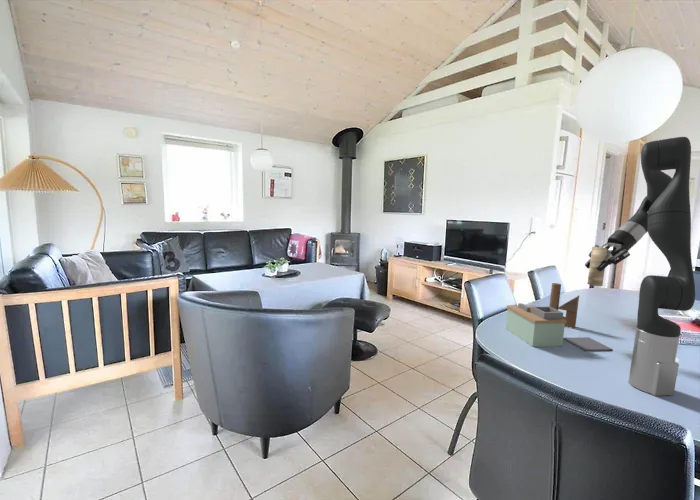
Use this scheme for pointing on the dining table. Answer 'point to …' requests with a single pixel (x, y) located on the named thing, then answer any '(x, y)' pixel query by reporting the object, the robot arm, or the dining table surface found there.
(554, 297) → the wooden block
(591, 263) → the tan ridged cylinder
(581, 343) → the charcoal mat
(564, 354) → the dining table surface
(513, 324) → the pale green box
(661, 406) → the dining table surface
